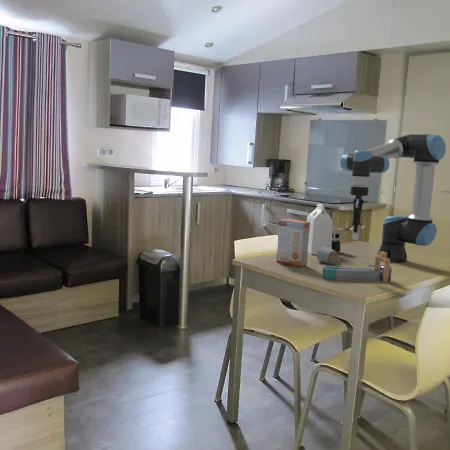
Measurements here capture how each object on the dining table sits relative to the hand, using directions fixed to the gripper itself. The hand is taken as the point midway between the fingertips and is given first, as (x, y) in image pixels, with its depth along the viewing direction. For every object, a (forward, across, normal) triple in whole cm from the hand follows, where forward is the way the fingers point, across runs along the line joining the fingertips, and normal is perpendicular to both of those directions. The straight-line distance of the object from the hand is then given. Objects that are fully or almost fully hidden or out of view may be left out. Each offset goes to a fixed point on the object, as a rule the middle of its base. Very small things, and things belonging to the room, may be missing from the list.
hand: (355, 239), depth 228 cm
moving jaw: (+16, +6, +3) cm, 17 cm away
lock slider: (+16, +2, +12) cm, 20 cm away
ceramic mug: (+16, -19, -13) cm, 29 cm away
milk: (+16, -43, -24) cm, 52 cm away
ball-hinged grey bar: (+16, +8, +3) cm, 18 cm away
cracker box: (+16, -6, -29) cm, 34 cm away
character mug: (+17, -51, -15) cm, 56 cm away
